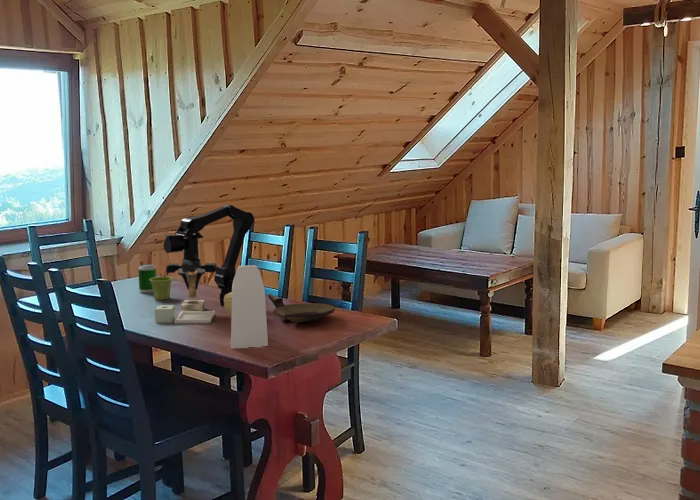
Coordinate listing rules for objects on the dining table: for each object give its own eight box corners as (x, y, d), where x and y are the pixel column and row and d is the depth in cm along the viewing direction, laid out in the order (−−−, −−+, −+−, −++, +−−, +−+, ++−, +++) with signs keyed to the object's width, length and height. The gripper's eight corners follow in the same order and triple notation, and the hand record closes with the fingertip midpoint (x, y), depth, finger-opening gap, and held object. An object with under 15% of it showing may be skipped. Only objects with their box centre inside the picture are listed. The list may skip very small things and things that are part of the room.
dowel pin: (197, 296, 274) (196, 273, 272) (195, 297, 271) (195, 275, 270) (189, 296, 274) (189, 273, 272) (188, 297, 271) (187, 275, 269)
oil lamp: (292, 332, 243) (292, 311, 242) (258, 314, 269) (257, 295, 268) (347, 323, 255) (347, 303, 254) (309, 307, 280) (309, 288, 279)
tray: (215, 314, 267) (214, 310, 267) (210, 323, 254) (210, 319, 254) (181, 315, 267) (180, 311, 266) (174, 323, 254) (174, 319, 253)
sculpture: (220, 320, 260) (219, 292, 258) (235, 312, 271) (234, 285, 269) (247, 322, 256) (247, 294, 254) (261, 314, 267) (261, 287, 266)
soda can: (154, 293, 304) (153, 266, 303) (137, 293, 305) (135, 266, 303) (159, 290, 312) (157, 263, 310) (142, 289, 312) (141, 263, 310)
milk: (266, 337, 237) (265, 262, 233) (268, 346, 226) (266, 268, 222) (231, 338, 235) (229, 263, 231) (230, 348, 224) (228, 269, 220)
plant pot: (167, 301, 289) (166, 281, 288) (146, 300, 291) (145, 280, 290) (177, 296, 299) (176, 277, 297) (156, 295, 300) (156, 276, 299)
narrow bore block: (174, 318, 262) (174, 305, 261) (171, 322, 256) (171, 309, 255) (158, 318, 262) (158, 305, 261) (155, 322, 256) (154, 309, 255)
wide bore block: (204, 308, 277) (204, 300, 277) (201, 313, 269) (201, 304, 269) (184, 308, 277) (184, 300, 276) (181, 313, 269) (180, 304, 268)
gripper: (162, 253, 261) (164, 294, 263) (212, 253, 262) (213, 293, 264) (168, 249, 272) (170, 288, 274) (216, 248, 273) (217, 287, 275)
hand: (192, 289), depth 272 cm, fingers closed on dowel pin, 3 cm apart
